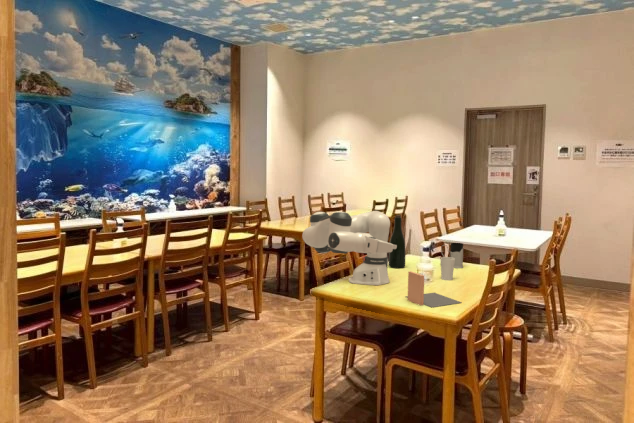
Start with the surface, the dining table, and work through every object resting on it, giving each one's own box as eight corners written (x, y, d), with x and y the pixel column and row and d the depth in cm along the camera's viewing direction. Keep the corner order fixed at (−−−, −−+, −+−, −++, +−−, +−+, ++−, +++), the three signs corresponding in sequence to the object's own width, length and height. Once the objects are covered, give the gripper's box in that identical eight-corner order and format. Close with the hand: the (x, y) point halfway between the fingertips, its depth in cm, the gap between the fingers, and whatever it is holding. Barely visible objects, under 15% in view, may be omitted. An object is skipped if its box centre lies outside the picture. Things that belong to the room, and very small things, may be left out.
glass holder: (462, 268, 314) (463, 245, 313) (439, 267, 319) (440, 243, 318) (463, 266, 322) (464, 243, 321) (441, 264, 327) (442, 241, 326)
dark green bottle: (408, 266, 319) (409, 215, 316) (399, 269, 312) (400, 216, 308) (394, 264, 326) (395, 214, 323) (385, 266, 318) (386, 215, 315)
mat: (431, 307, 229) (431, 307, 229) (405, 297, 247) (405, 296, 247) (461, 303, 237) (461, 302, 237) (434, 293, 255) (434, 292, 255)
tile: (420, 305, 233) (421, 275, 231) (407, 300, 242) (408, 271, 240) (423, 305, 233) (424, 275, 232) (410, 299, 242) (411, 271, 241)
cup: (456, 280, 283) (456, 259, 281) (442, 280, 282) (443, 259, 281) (451, 277, 290) (452, 256, 289) (437, 277, 290) (438, 257, 289)
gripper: (351, 245, 232) (377, 247, 238) (374, 254, 214) (401, 256, 220) (353, 232, 232) (378, 234, 238) (377, 239, 213) (403, 241, 219)
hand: (390, 245), depth 229 cm, fingers open, 8 cm apart
